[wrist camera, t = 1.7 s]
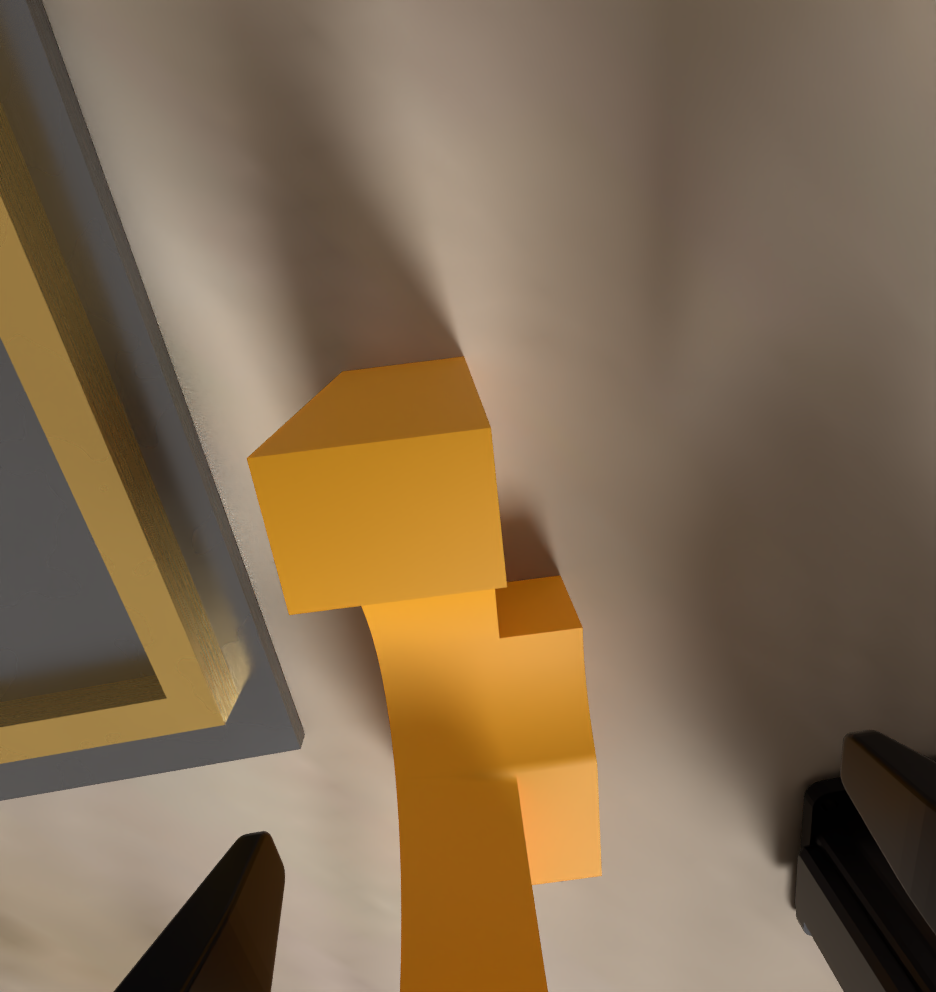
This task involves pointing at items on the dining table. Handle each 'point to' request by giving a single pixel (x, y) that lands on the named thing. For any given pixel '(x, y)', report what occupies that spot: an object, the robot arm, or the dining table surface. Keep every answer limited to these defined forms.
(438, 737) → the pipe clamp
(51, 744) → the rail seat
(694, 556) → the dining table surface
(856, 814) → the robot arm
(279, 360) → the dining table surface
